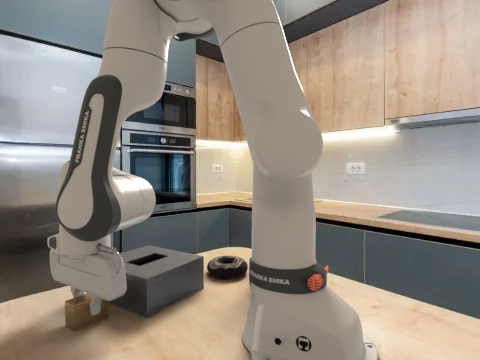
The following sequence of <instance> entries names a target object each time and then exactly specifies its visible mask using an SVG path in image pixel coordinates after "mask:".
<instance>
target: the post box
mask: <svg viewBox="0 0 480 360" xmlns="http://www.w3.org/2000/svg"><path fill="white" fill-rule="evenodd" d="M118 253H119V252H118ZM119 254H120V255H121V257H122V259H123V262H124V267H125V274H126V285H127V289H126V292H125V294H124V295H123V296H121V297H119V298H116V299H114V300H111V301H108V304H110V305H113V306H115V307H118V308H120V309H122V310H125V311H128V312H131V313H133V314H136V315H138V316H141V317H142V318H143V317H144V318H146V319H148V318H149V317H152V316H154V315H156V314H157V313H159V312H161V311H164V310H165V309H168V307H171V306H172V305H174V304H176V303H179V302H180V301H182V300H184V299H186V298H188V297H189V296H191V295H192V294H194V293H196V292H199V291H200V290H202V289H204V288H205V287H204V286H205V285H204V284H205V280H204V279H205V278H204V277H205V276H204V275H205V274H204V273H205V271H204V268H205V265H204V264H205V263H204V262H205V261H204V259H205V258H204V257H205V256H204V255H198V254H195V253H194V254H193V253H189V252H185V251H179V250H173V249H170V248H169V249H168V248H165V247H164V248H163V247H161V246H160V247H159V246H154V245H149V244H148V245H145V246H141V247H137V248H134V249H131V250H127V251H125V252H124V251H123V252H120V253H119Z"/></svg>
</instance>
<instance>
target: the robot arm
mask: <svg viewBox="0 0 480 360" xmlns="http://www.w3.org/2000/svg"><path fill="white" fill-rule="evenodd" d="M108 13H109V14H108V18H107V22H106V27H105V32H104V40H103V49H102V56H101V57H102V60H101V63H100V68H99V71H98V73H97V76H96V77H95V78H93V79H92V80H91V82H89V84H88V86H87V88H86V89H85V93H84V96H83V99H82V103H81V108H80V111H79V115H78V121H77V125H76V130H75V135H74V140H73V144H72V148H71V149H72V150H71V156H70V159H69V160H68V161H67V162H65V163H64V164H63V165H62V167H61V169H60V172H59V179H58V195H57V197H56V201H55V215H56V218H57V220H58V222H59V224H58V225H59V227H58V230H59V231H58V232H59V233H56V234H54V235H53V234H52V235H50V236H49V237H47V240H46V242H47V243H46V244H47V247H48V248H49V249H50V250H49V266H50V273H51V276H52V279H53V280H54V281H55V282H58V283H60V284H63V285H66V286H69V287H70V292H71V295H72V297H73V298H75V297H78V296H80V295H83V294H86V293H89V294H90V298H91V299H92V300H91V304H89V305H87V307H88V313H89V314H91V315H96V314H98V313H100V311H101V307H100V304H101V302H102V300H103V299H104V300H107V301H111V300H114V299H116V298H119V297H121V296H123V295H124V294H125V292H126V289H127V285H126V274H125V267H124V262H123V259H122V257H121V255H120V254H119V251H118V250H117V248H116V247H113V246H111V245H112V244H111V235H112V234H113V233H114V232H118V231H121V230H124V229H128V228H130V227H132V226H134V225H137V224H140V223H143V222H144V221H146V220H148V219H149V218H151V216H152V215H153V214H154V211H155V209H156V205H157V196H156V192H155V189H154V187H153V185H152V184H151V183H150V181H148V180H147V179H146V178H144V177H141V176H137V175H134V174H131V173H129V172H126V171H122V170H121V169H118V168H117V167H114V161H115V157H116V151H117V147H118V146H117V145H118V140H119V135H120V132H121V128H122V126H123V124H124V123H125V121H126V120H127V118H129V117H130V116H132V115H134V114H135V113H137V112H140V111H143V110H145V109H148V108H151V107H152V106H153V105H154V104H156V103H157V102H158V101H159V100H160V99H161V98H162V96H163V92H164V90H165V86H166V81H167V77H168V76H167V74H168V73H167V72H168V61H169V50H170V49H169V48H170V45H171V41H172V39H174V40H175V41H177V42H185V41H189V40H202V39H206V38H208V37H211V36H212V35H214V33H215V36H216V38H217V42H218V46H219V48H220V52H221V54H222V58H223V62H224V65H225V69H226V71H227V75H228V78H229V83H230V85H231V89H232V93H233V94H234V95H233V96H234V99H235V102H236V107H237V110H238V114H239V117H240V120H241V124H242V129H243V132H244V136H245V138H246V142H247V143H246V144H247V146H248V149H249V152H250V153H249V154H250V156H251V159H252V162H253V164H252V165H253V167H252V168H253V169H252V199H251V202H252V203H251V205H252V206H251V257H250V258H249V259H248V260H249V261H248V262H249V263H248V264H249V265H248V282H249V283H248V284H249V287H250V290H249V291H250V294H249V301H248V310H247V314H246V319H245V324H244V327H243V331H242V334H241V336H242V337H241V338H242V342H243V344H244V346H245V347H246V349H247V350H248V351H249V353H250V356H251V357H250V358H251V360H379V354H378V353H379V352H378V348H377V345H376V343H375V341H374V340H373V339H372V338H371V336H368V335H366V334H363V327H362V323H361V320H360V316H359V313H358V312H357V310H356V309H355V308H354V307H352V306H351V305H350V304H349V303H348V302H347V301H345V299H343V298H342V297H341V296H340V295H339V294H338V293H336V291H334V289H332V288H331V287H330V286H329V285H328V284H327V282H328V274H329V265H326V266H325V267H323V266H322V265H321V264H320V263H319V262H318V261H317V259H316V238H317V237H316V236H317V235H316V233H317V231H316V227H317V226H316V223H317V222H316V221H317V220H316V219H317V217H316V209H315V199H314V187H313V175H312V174H313V173H312V172H313V171H314V170H315V169H316V167H317V166H318V164H319V163H320V161H321V159H322V158H321V157H322V154H323V149H324V140H323V139H324V138H323V135H322V132H321V129H320V126H318V123H317V119H316V117H315V114H314V112H313V109H312V107H311V105H310V102H309V99H308V98H307V95H306V92H305V90H304V89H303V86H302V84H301V82H300V80H299V78H298V75H297V72H296V70H295V66H294V62H293V59H292V56H291V52H290V49H289V46H288V42H287V39H286V36H285V31H284V29H283V26H282V23H281V20H280V16H279V14H278V12H277V8H276V6H275V4H274V1H273V0H113V1H112V4H111V7H110V10H109V12H108Z"/></svg>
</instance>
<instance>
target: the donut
mask: <svg viewBox="0 0 480 360" xmlns="http://www.w3.org/2000/svg"><path fill="white" fill-rule="evenodd" d="M206 269H207V271H208V272H207V273H208V274H209V275H210V276H212V277H214V278H217V279H221V280H222V279H223V280H234V279H237V278H240V277H242V276H244V275H245V274H246V273H247V271H248V270H249V265H248V262H247V261H246V260H245V259H244V258H242V257H241V256H236V255H220V256H216V257H213V258H212V259H210V260H209V261H208V263H207V265H206Z"/></svg>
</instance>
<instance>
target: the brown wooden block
mask: <svg viewBox="0 0 480 360" xmlns="http://www.w3.org/2000/svg"><path fill="white" fill-rule="evenodd" d="M91 300H92V299H91V298H90V294H89V293H86V292H85V293H84V294H83V295H80V296H78V297H75V298H72V297H71V298H70V299H67V300H64V313H65V314H64V315H65V318H64V319H65V323H64V325H65V328H67V329H69V330H71V331H72V332H77V331H79V330H81V329H83V328H85V327H87V326H89V325H92V324H94V323H95V322H98V321H100V320H102V319H105V318H107V317H108V316H109V303H108V301H107V300H104V299H103V300H102V302H101V304H100V307H101V311H100V313H98V314H96V315H91V314H89V313H88V307H87V305H89V304H91Z"/></svg>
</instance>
